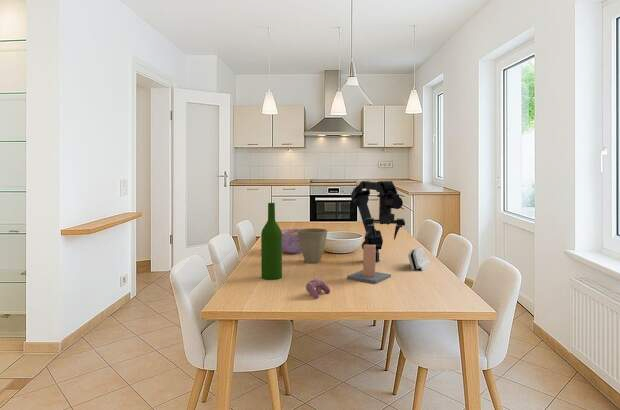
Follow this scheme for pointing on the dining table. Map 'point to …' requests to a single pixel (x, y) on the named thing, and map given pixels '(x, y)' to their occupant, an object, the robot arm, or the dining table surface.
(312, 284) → the video game controller
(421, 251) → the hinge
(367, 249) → the terracotta sleeve
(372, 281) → the charcoal plate
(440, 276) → the dining table surface
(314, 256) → the plant pot
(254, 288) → the dining table surface
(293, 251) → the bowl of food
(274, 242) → the wine bottle
